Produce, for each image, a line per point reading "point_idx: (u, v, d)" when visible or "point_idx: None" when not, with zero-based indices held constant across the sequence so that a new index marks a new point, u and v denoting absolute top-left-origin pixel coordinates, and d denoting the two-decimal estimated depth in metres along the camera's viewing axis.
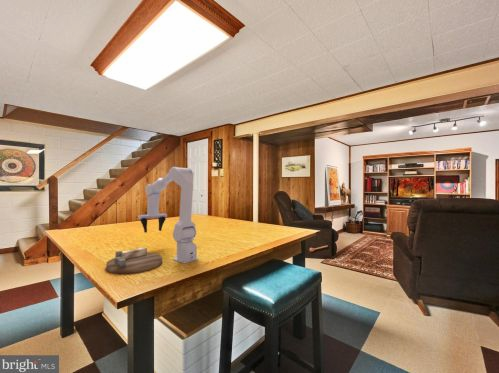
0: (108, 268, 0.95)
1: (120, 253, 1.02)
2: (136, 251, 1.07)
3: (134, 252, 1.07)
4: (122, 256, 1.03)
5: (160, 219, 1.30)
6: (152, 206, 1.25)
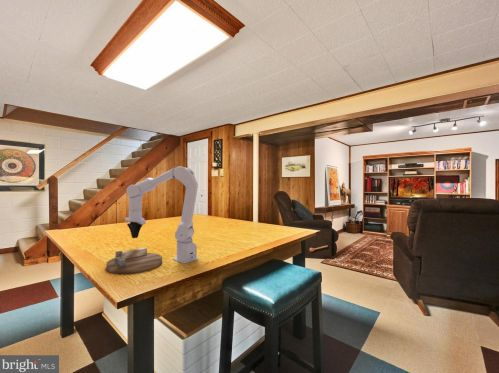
0: (108, 268, 0.95)
1: (120, 253, 1.02)
2: (136, 251, 1.07)
3: (134, 252, 1.07)
4: (122, 256, 1.03)
5: None
6: (137, 209, 1.12)
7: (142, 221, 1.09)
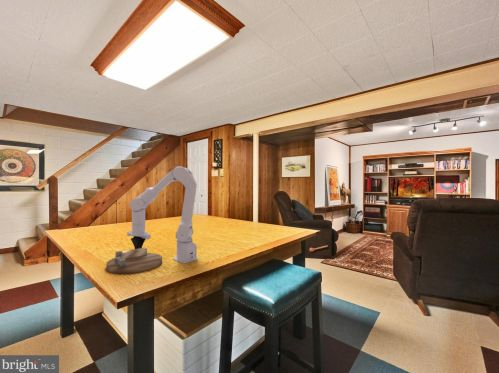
0: (108, 268, 0.95)
1: (120, 253, 1.02)
2: (136, 251, 1.07)
3: (134, 252, 1.07)
4: (122, 256, 1.03)
5: None
6: (141, 223, 1.10)
7: (147, 236, 1.08)
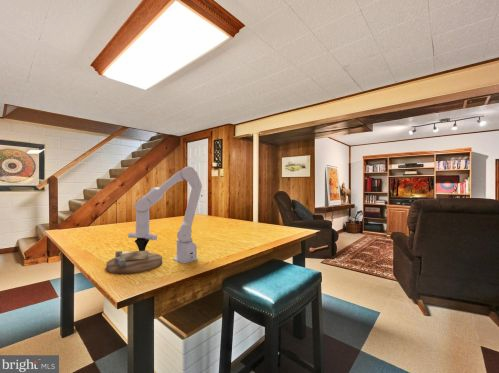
0: (108, 268, 0.95)
1: (118, 253, 1.02)
2: (136, 253, 1.04)
3: (133, 254, 1.03)
4: None
5: None
6: (146, 224, 1.07)
7: (154, 237, 1.05)
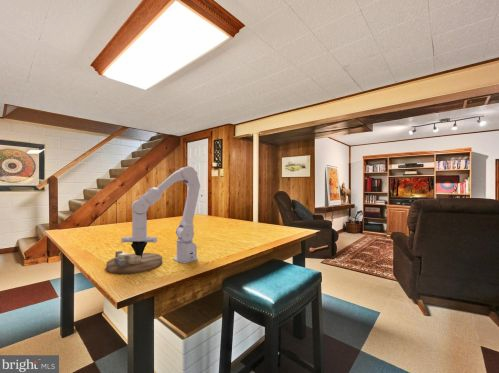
0: (108, 268, 0.95)
1: (116, 253, 1.02)
2: (127, 257, 0.99)
3: (126, 257, 0.99)
4: None
5: None
6: (145, 227, 1.01)
7: (155, 239, 1.01)
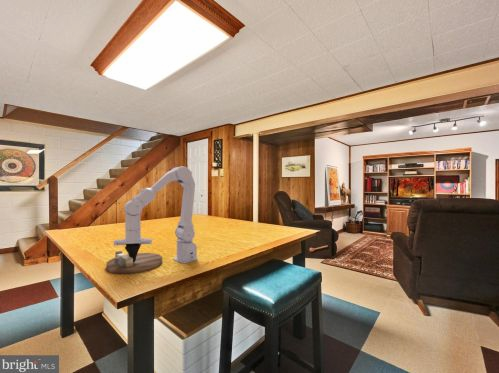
0: (108, 268, 0.95)
1: (116, 253, 1.02)
2: None
3: None
4: None
5: None
6: (139, 228, 0.98)
7: (150, 240, 0.99)
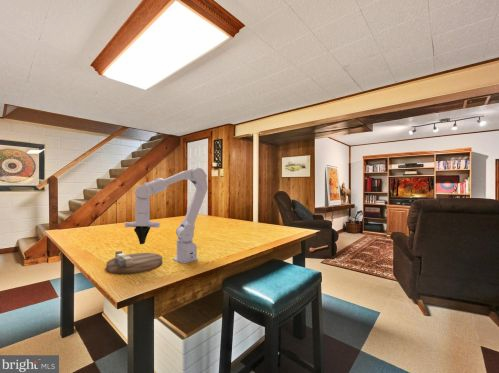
0: (108, 268, 0.95)
1: (116, 253, 1.02)
2: None
3: None
4: None
5: None
6: (148, 212, 1.02)
7: (158, 224, 1.02)
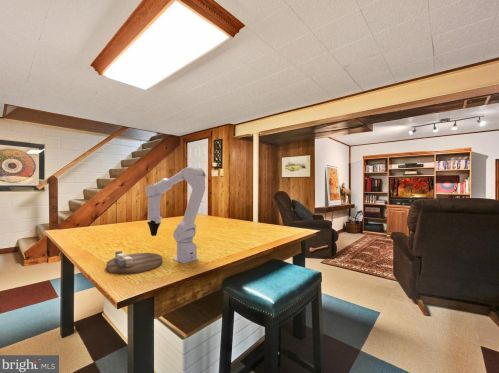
0: (108, 268, 0.95)
1: (116, 253, 1.02)
2: None
3: None
4: None
5: None
6: (154, 208, 1.17)
7: (157, 220, 1.13)
